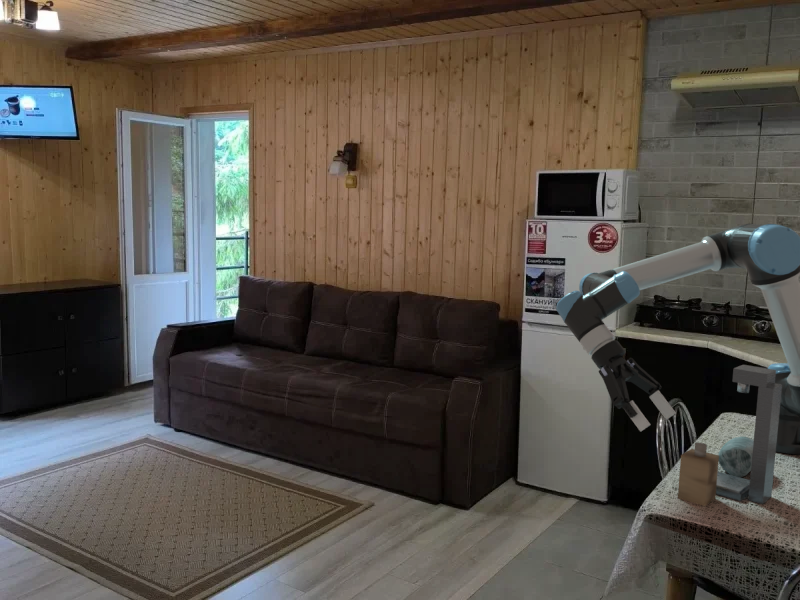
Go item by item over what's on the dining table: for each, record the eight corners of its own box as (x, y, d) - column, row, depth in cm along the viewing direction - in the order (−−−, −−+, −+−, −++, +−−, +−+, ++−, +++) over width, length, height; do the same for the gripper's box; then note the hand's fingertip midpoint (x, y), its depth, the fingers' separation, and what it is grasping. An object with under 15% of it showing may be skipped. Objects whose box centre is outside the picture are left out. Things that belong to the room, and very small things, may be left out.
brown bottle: (688, 490, 162) (692, 438, 161) (715, 498, 158) (719, 444, 157) (677, 498, 158) (681, 443, 156) (704, 506, 154) (709, 450, 152)
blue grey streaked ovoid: (756, 472, 166) (742, 430, 169) (716, 481, 171) (704, 440, 175) (775, 472, 175) (762, 432, 179) (737, 480, 181) (725, 441, 185)
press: (711, 477, 171) (721, 359, 167) (774, 494, 161) (786, 369, 158) (695, 488, 164) (705, 365, 160) (759, 506, 154) (771, 376, 150)
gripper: (616, 350, 182) (669, 420, 174) (565, 364, 165) (621, 442, 156) (637, 333, 178) (692, 403, 170) (587, 345, 160) (646, 424, 152)
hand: (658, 422), depth 163 cm, fingers open, 13 cm apart
